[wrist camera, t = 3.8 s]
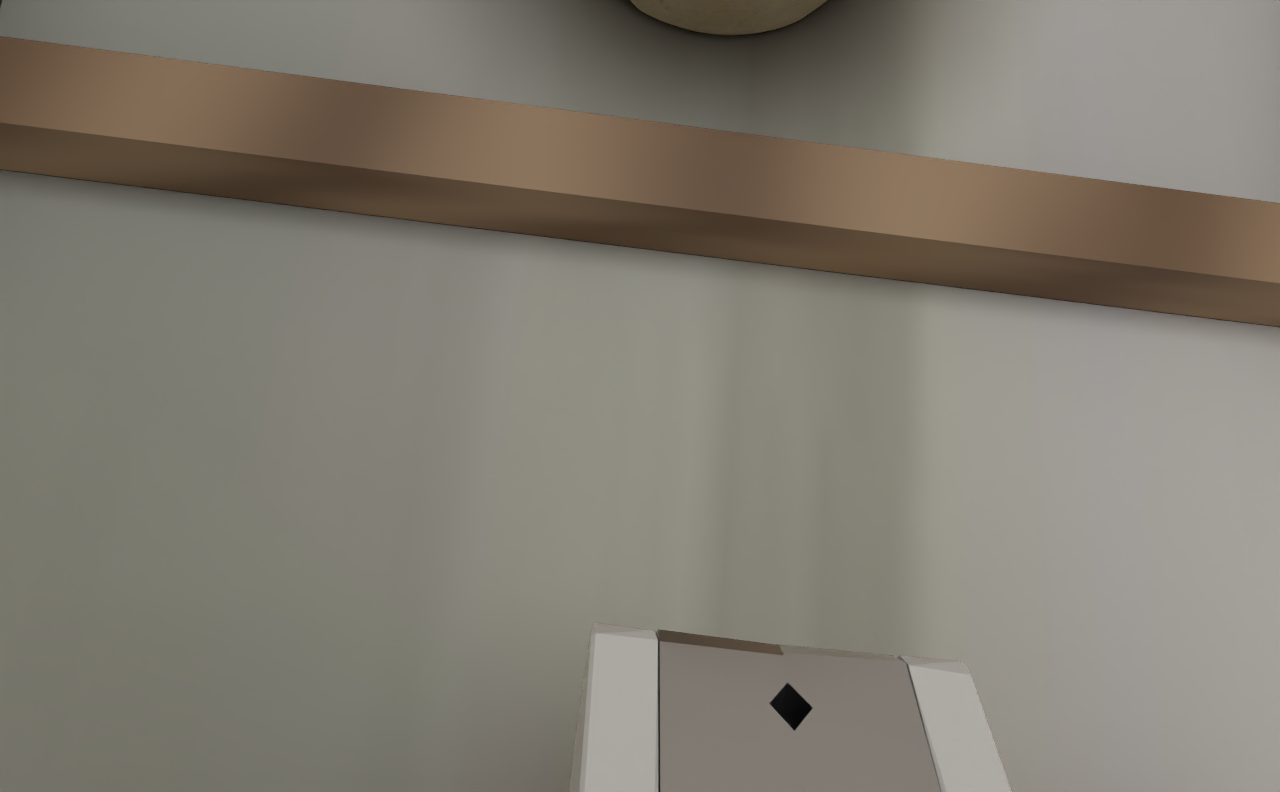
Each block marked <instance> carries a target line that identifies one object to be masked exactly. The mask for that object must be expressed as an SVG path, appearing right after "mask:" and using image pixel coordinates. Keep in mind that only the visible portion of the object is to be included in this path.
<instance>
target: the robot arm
mask: <svg viewBox="0 0 1280 792" xmlns="http://www.w3.org/2000/svg"><path fill="white" fill-rule="evenodd" d="M569 792H1012V790H1011V787H1010V784H1009V782H1008V779H1007V776H1006V773H1005V770H1004V767H1003V764H1002V761H1001V759H1000V756H999V753H998V750H997V747H996V744H995V741H994V738H993V736H992V733H991V730H990V727H989V724H988V721H987V718H986V715H985V713H984V710H983V707H982V704H981V701H980V698H979V695H978V692H977V690H976V687H975V684H974V681H973V678H972V675H971V672H970V671H969V669H968V668H967V667H966V666H965V665H964V664H963V663H962V662H961V661H952V660H942V659H931V658H920V657H909V656H899V657H895V656H893V655H882V654H872V653H862V652H851V651H841V650H831V649H820V648H810V647H799V646H789V645H779V644H776V645H774V644H766V643H758V642H751V641H743V640H735V639H728V638H720V637H712V636H704V635H697V634H689V633H681V632H674V631H666V630H657V632H656V634H655V631H653V630H646V629H639V628H631V627H624V626H617V625H610V624H602V623H595V622H594V624H593V627H592V630H591V634H590V641H589V648H588V654H587V661H586V668H585V675H584V682H583V689H582V696H581V703H580V710H579V716H578V724H577V732H576V739H575V747H574V755H573V763H572V771H571V778H570V788H569Z"/></svg>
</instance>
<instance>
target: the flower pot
mask: <svg viewBox="0 0 1280 792" xmlns="http://www.w3.org/2000/svg"><path fill="white" fill-rule="evenodd" d="M630 1H631V2H632V3H633V4H634V5H635V6H636V7H637V8H638V9H639V10H640V11H642V12H643V13H645V14H647V15H649V16H651V17H654V18H656V19H658V20H660V21H663V22H666V23H669V24H672V25H675V26H678V27H681V28H684V29H687V30H692V31H697V32H703V33H709V34H718V35H742V34H752V33H760V32H765V31H770V30H775V29H778V28H781V27H784V26H787V25H790V24H792V23H794V22H796V21H799V20H800V19H802V18H803V17H805V16H807V15H808V14H809V13H811V12H812V11H814V10H815V9H816V8H818V7H819V6H821V5H822V4H823V3H825V2H826V1H827V0H630Z"/></svg>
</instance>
